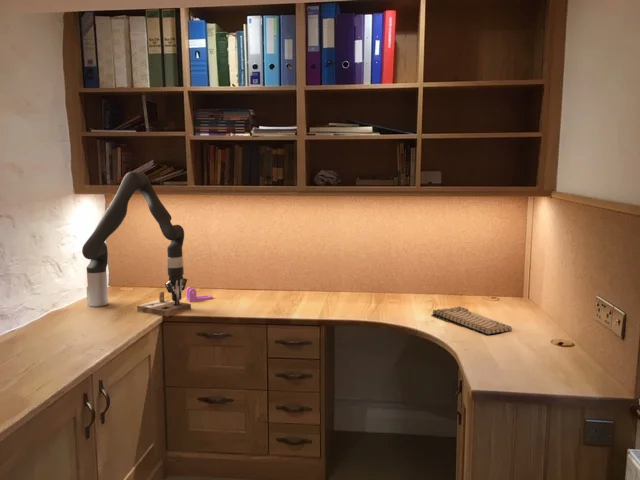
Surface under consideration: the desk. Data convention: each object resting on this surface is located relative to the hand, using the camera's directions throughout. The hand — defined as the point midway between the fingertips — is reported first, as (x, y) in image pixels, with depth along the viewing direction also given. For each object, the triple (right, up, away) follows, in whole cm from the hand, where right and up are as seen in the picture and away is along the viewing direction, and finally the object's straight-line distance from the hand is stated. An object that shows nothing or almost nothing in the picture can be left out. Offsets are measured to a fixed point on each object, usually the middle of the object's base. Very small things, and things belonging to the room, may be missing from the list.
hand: (176, 300), depth 264 cm
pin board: (-6, -5, 0) cm, 8 cm away
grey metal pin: (0, -2, 0) cm, 2 cm away
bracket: (+7, -2, +21) cm, 22 cm away
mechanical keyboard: (+140, -9, -20) cm, 141 cm away
